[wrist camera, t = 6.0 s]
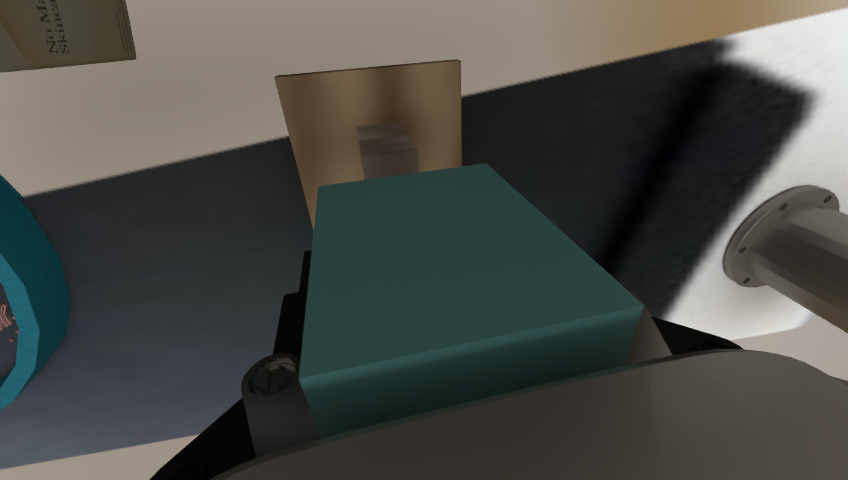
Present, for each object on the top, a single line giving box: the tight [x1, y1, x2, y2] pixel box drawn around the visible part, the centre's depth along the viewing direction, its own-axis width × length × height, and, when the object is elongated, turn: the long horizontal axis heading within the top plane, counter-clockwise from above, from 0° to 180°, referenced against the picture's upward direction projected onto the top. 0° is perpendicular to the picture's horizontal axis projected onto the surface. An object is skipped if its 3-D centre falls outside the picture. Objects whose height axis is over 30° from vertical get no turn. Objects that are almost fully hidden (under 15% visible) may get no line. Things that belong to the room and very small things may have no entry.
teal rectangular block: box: [299, 163, 644, 438], centre depth 11 cm, size 6×6×8 cm
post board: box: [275, 59, 462, 230], centre depth 27 cm, size 12×23×8 cm, turn 4°
